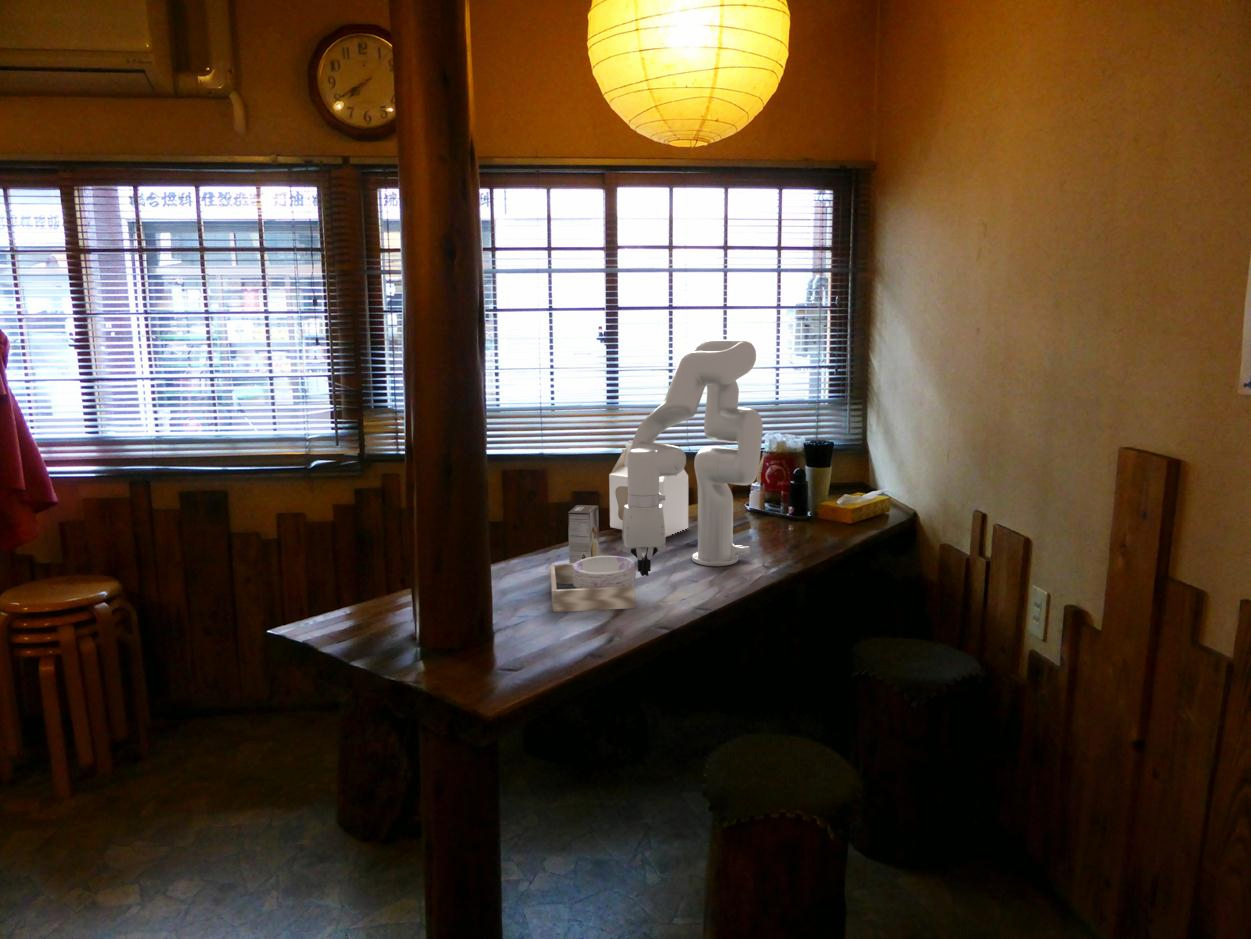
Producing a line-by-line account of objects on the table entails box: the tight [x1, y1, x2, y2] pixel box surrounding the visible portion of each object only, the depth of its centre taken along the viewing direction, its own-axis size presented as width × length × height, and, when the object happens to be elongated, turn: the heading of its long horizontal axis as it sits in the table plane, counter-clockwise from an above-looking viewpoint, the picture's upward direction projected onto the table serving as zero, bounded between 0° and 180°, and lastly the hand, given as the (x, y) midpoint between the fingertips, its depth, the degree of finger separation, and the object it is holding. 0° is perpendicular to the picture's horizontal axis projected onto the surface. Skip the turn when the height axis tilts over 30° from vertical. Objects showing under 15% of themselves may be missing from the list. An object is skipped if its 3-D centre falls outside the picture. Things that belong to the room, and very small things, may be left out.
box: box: [549, 563, 637, 613], centre depth 195 cm, size 19×21×5 cm
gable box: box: [608, 439, 689, 538], centre depth 256 cm, size 22×13×28 cm, turn 51°
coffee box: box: [567, 504, 600, 564], centre depth 217 cm, size 9×6×16 cm
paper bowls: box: [572, 555, 636, 589], centre depth 194 cm, size 15×15×8 cm
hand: (644, 574), depth 196 cm, fingers closed
